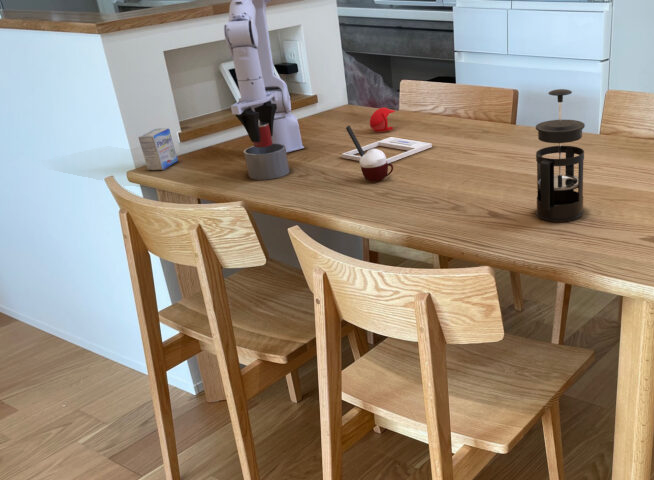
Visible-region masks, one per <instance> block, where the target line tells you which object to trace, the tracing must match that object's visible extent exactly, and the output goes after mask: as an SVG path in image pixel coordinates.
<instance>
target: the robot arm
mask: <svg viewBox="0 0 654 480" xmlns="http://www.w3.org/2000/svg"><path fill="white" fill-rule="evenodd" d="M271 1H272V0H231V2H230V4H229V11H228V13H229V14H228V21H227V23H226V24H223V33H224V38H225V43H226V46H227V48H228V51H229V56H230V58H231V60H233V66H234V71H235V75H236V80H237V85H238V90H239V94H240V97H239V98H238V101H237V102H235V103H233V104H231V105H230V109H231V115H235V117H236V118H237V119H238V121H239V122H240V123H241V125H242V126H243V127H244V129H245V131H246V133H247V135H248V136H249V137H248V138H249V140H250V141H251V143H253V142H260V133H259V124H258V122H268V123H269V127H270V132H271V137H272V142H273V143H277V144H283V145H284V146H285V148H286V153H291V152H295V151H298V150H302V149H304V148H305V146H304V145H303V141H302V134H301V130H300V125H299V121H298V118H297V116H296V115H295V114H294V113H292V112H291V111H292V102H291V96H290V92H289V89H288V84H287V83H286V81H284V80H283V79H282V78H280V77H278V76H277V75H276V74H275V67H274V62H273V55H272V46H271V41H270V36H269V35H270V33H269V27H268V20H267V4H269V3H271Z"/></svg>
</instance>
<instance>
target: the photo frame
mask: <svg viewBox="0 0 654 480" xmlns="http://www.w3.org/2000/svg"><path fill="white" fill-rule="evenodd" d="M379 146H380V147H385V148H391V149H398V150H402V151H404V152H402V153H399V154H396V155H394V156H390V157H388V158H386V160H387V164H392V163H393V162H396V161H398V160H401V159H404V158H406V157H409V156H411V155H414V154H418V153H420V152H423V151H425V150H427V149H431V148H432V146H433V144H432V143H431V142H425V141H419V140H412V139H406V138H400V137H395V136H390V137H386V138H384V139H381V140H378V141H375V142H372V143H369V144H367V145H363V146H361V148H362V150H363V151H364V152H365V151H368V150H371V149H375V148H377V147H379ZM356 154H359V152H358V150H357V148H355V149H352V150H349V151H346V152H343V153H341V158H343V159H346V160H347V159H348V160H353V161H358V162H359V161H360V158H361V156H360V155H356Z"/></svg>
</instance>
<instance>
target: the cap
mask: <svg viewBox="0 0 654 480" xmlns="http://www.w3.org/2000/svg"><path fill="white" fill-rule="evenodd" d="M392 113H393V114H394V113H395V110H394V109H389V108H388V107H380V108H377V109H376V110H375V111H374V112H373V113H372V114H371V115H370V119H369V127H370V128H371V129H372V131H373V132H375V133H381V132H388V131H393V129H394V128H393V126H388V125H389V122H388V117H389V115H390V114H392Z"/></svg>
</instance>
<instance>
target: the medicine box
mask: <svg viewBox="0 0 654 480" xmlns="http://www.w3.org/2000/svg"><path fill="white" fill-rule="evenodd" d="M137 138H138V141H139V144H140V149H141V152H142V154H143V158H144V161H145V165H146V168H147V171H164V170H166V169H168V168H169V167H171V166H172V165H174V164H176V163H178V162H179V160H178V159H179V158H178V155H177V152H176V148H175V145H174V140H173V137H172V134H171V130H170V128H166V127H165V128H162V127H161V128H154V129H152V130H150V131H148V132H146V133H144V134H141V135H139V136H138V137H137Z"/></svg>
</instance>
